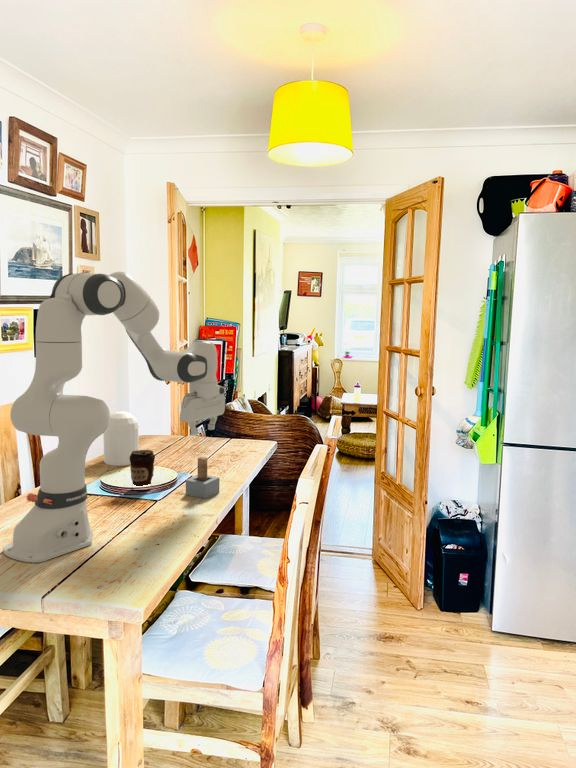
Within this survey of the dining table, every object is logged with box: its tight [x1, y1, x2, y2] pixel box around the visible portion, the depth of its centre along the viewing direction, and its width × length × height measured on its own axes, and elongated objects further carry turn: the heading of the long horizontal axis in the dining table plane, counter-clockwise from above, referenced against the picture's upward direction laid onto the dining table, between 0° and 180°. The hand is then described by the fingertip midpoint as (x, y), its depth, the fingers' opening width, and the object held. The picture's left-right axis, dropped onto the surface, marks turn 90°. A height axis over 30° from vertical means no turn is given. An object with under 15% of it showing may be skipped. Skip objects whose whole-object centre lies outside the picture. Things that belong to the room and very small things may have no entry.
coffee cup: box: [130, 449, 156, 486], centre depth 197 cm, size 9×8×13 cm
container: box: [102, 410, 140, 467], centre depth 229 cm, size 14×13×20 cm
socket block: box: [185, 474, 220, 499], centre depth 195 cm, size 8×8×5 cm
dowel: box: [197, 456, 208, 482], centre depth 194 cm, size 3×3×12 cm
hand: (202, 431), depth 192 cm, fingers open, 8 cm apart
